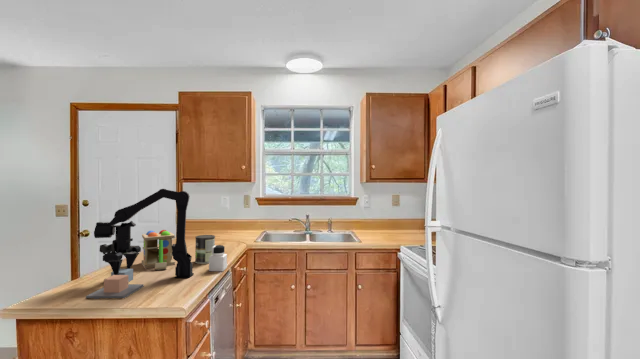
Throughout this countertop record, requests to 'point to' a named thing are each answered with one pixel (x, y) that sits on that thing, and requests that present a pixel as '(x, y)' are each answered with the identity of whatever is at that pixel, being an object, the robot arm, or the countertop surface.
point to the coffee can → (204, 248)
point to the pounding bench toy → (157, 250)
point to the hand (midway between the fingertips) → (122, 272)
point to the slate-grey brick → (125, 273)
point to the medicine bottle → (218, 259)
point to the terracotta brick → (116, 283)
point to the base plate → (122, 294)
